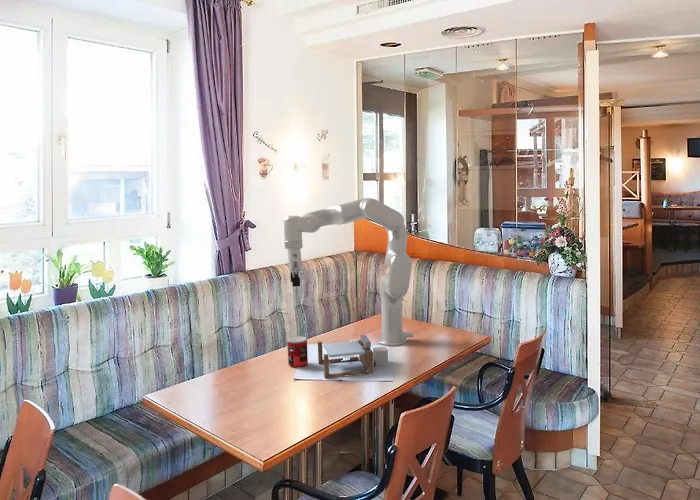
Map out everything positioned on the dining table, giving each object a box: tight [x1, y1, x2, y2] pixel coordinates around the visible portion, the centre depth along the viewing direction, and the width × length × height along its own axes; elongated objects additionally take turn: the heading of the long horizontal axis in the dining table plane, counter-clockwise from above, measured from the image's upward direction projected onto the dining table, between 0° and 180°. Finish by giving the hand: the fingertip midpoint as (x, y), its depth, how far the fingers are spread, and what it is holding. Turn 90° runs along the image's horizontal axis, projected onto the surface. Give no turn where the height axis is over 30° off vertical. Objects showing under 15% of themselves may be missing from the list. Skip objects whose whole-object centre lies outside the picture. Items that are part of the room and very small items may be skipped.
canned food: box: [286, 335, 309, 369], centre depth 237 cm, size 8×8×11 cm
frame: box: [317, 341, 374, 379], centre depth 231 cm, size 19×18×9 cm
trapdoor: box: [323, 334, 372, 358], centre depth 231 cm, size 17×14×4 cm
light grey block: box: [372, 346, 389, 366], centre depth 236 cm, size 5×5×6 cm
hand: (295, 284), depth 250 cm, fingers open, 9 cm apart
